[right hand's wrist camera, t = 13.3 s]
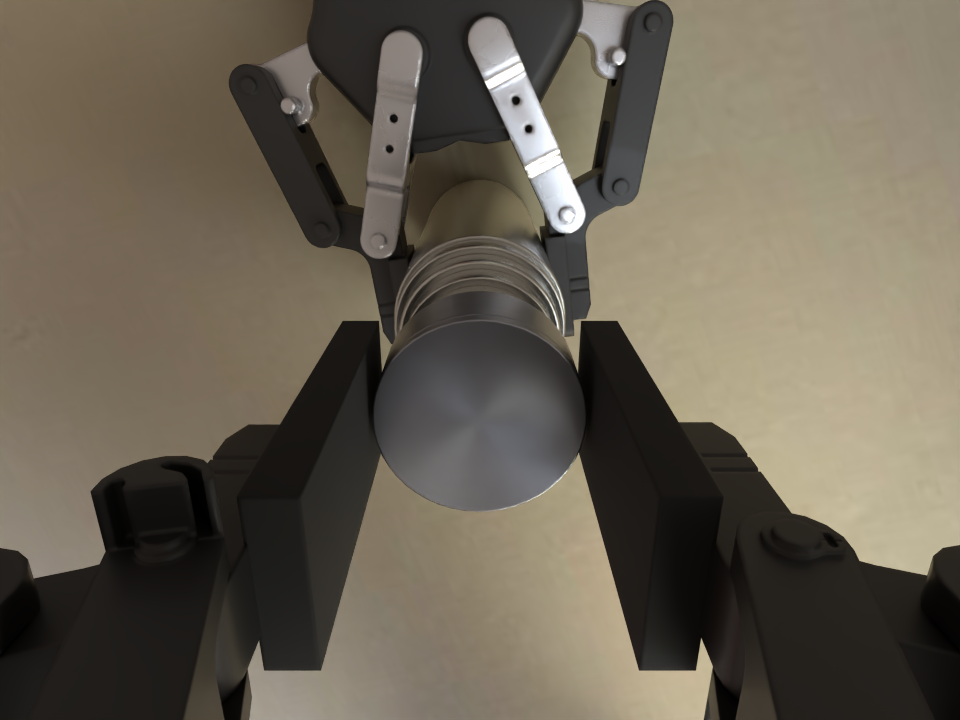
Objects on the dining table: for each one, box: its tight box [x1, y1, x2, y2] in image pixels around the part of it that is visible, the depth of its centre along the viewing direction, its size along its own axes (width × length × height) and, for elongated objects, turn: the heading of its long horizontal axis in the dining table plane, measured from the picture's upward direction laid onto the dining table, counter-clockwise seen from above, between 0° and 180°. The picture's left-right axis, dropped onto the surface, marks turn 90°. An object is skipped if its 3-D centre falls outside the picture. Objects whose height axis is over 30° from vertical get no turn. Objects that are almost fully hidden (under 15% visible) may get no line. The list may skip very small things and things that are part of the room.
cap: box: [372, 291, 587, 512], centre depth 13 cm, size 4×4×2 cm
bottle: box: [394, 180, 565, 338], centre depth 21 cm, size 5×5×18 cm
